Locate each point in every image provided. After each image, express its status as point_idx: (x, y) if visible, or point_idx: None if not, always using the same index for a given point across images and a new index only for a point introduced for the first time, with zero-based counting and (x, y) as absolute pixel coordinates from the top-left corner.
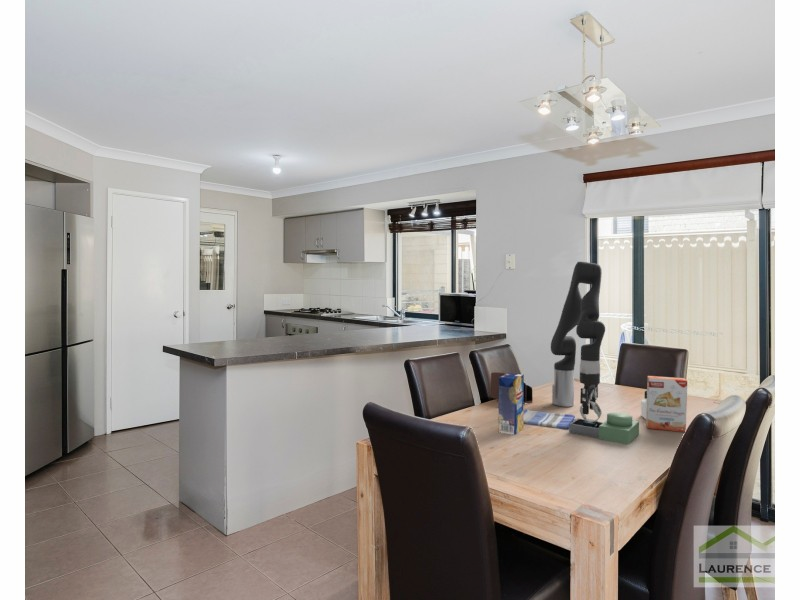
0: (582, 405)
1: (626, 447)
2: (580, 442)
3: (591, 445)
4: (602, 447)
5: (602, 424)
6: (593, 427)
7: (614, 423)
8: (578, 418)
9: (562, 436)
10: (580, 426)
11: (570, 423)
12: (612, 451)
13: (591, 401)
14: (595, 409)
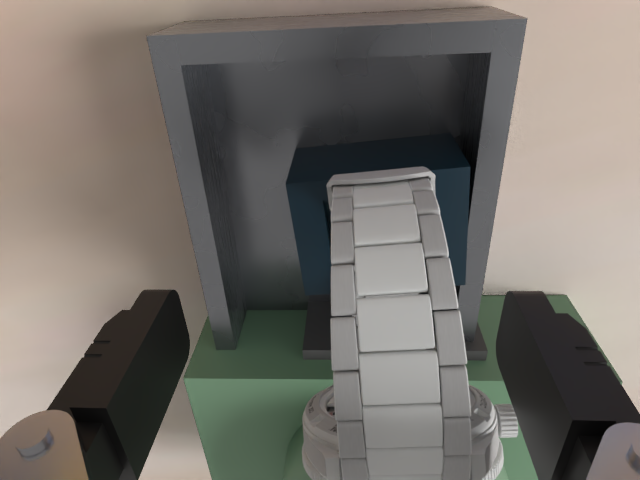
0: (379, 262)
1: (177, 439)
2: (8, 221)
3: (24, 298)
4: (53, 355)
5: (250, 387)
6: (222, 299)
7: (284, 473)
8: (518, 32)
9: (3, 20)
10: (182, 180)
11: (174, 45)
12: (40, 406)
13: (446, 466)
14: (304, 439)
